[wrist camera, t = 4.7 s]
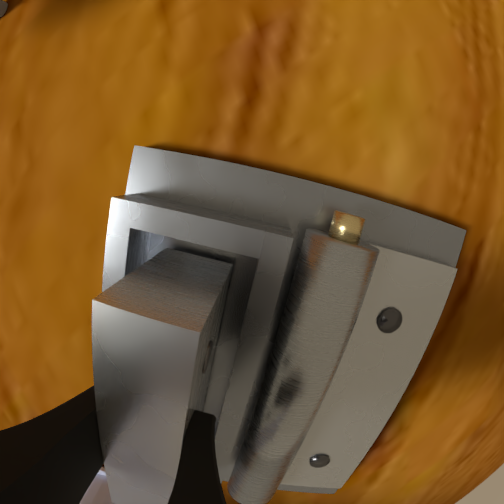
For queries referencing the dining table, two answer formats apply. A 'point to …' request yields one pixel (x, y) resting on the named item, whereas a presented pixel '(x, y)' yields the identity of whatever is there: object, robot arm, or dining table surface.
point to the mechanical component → (3, 7)
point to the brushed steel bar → (154, 367)
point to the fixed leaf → (292, 308)
